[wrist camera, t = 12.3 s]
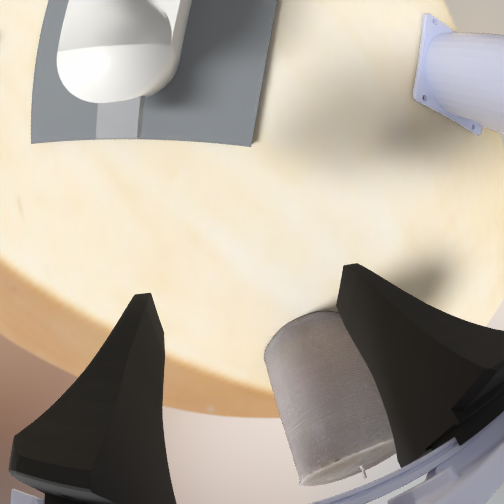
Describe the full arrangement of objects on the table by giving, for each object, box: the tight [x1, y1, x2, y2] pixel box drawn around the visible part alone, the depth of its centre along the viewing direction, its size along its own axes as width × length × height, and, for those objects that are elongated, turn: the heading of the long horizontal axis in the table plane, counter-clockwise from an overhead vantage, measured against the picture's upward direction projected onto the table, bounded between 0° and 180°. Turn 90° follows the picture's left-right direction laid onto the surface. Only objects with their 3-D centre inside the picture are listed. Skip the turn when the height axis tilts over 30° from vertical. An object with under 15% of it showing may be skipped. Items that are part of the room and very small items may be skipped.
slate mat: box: [31, 0, 277, 147], centre depth 11 cm, size 14×14×1 cm
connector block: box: [57, 0, 192, 139], centre depth 9 cm, size 4×11×6 cm, turn 171°
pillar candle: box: [264, 311, 396, 486], centre depth 21 cm, size 10×10×15 cm
